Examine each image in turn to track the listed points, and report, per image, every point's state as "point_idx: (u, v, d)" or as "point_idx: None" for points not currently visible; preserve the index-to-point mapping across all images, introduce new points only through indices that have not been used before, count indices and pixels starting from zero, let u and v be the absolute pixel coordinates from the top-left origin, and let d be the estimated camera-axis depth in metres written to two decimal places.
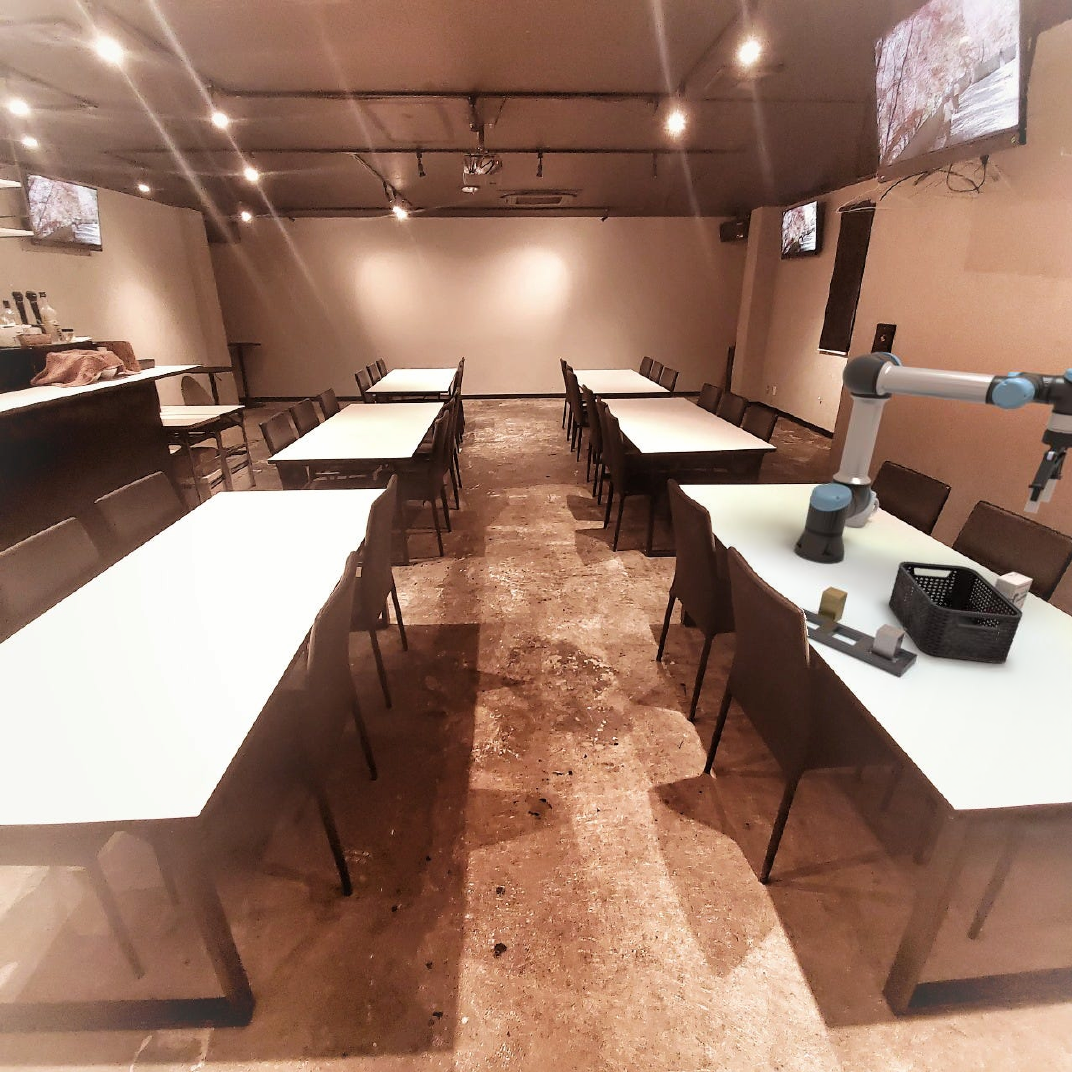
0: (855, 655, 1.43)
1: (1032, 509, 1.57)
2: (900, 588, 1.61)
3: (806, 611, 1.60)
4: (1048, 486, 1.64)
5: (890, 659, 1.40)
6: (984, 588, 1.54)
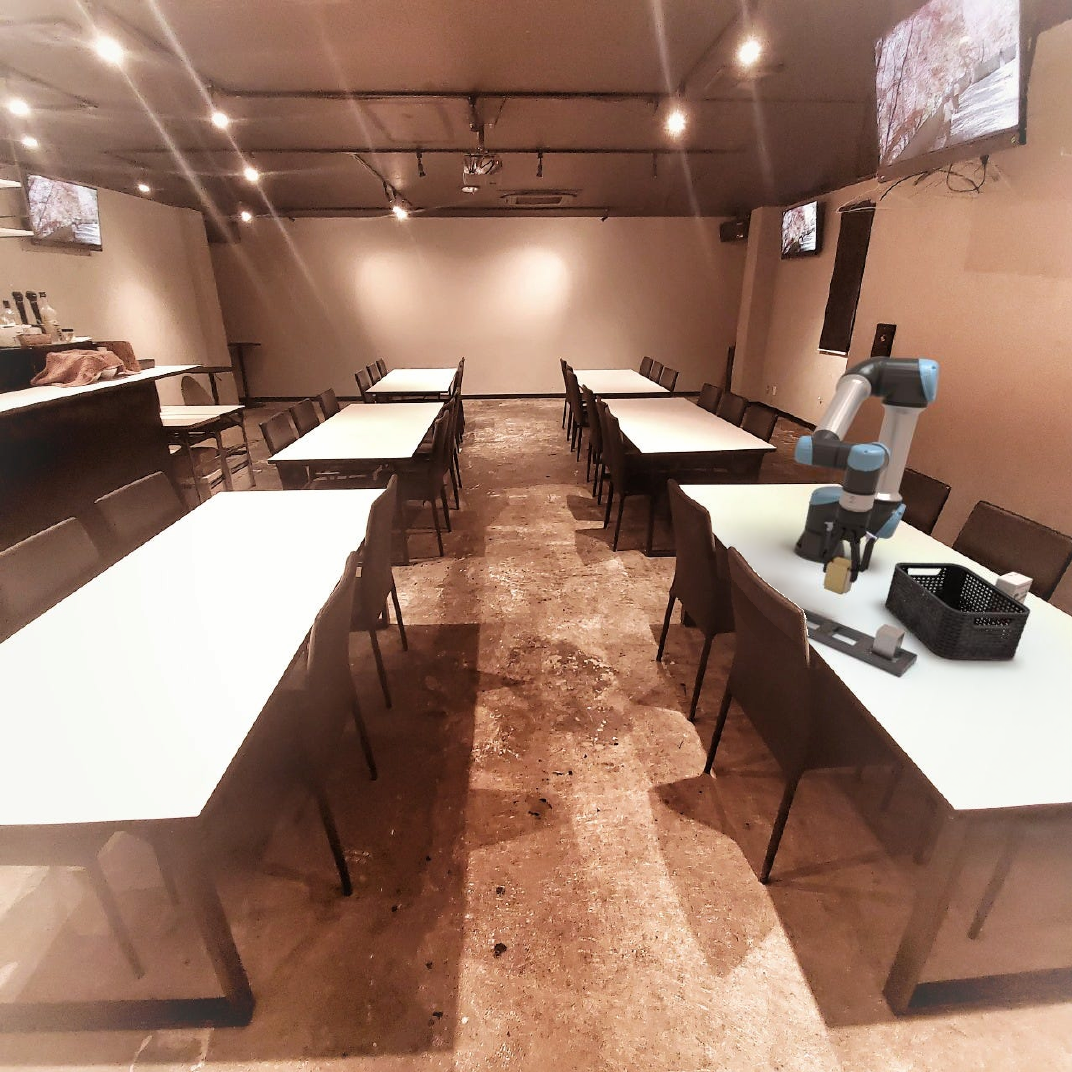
0: (855, 655, 1.43)
1: None
2: (900, 590, 1.60)
3: (806, 611, 1.60)
4: None
5: (890, 659, 1.40)
6: (978, 584, 1.56)
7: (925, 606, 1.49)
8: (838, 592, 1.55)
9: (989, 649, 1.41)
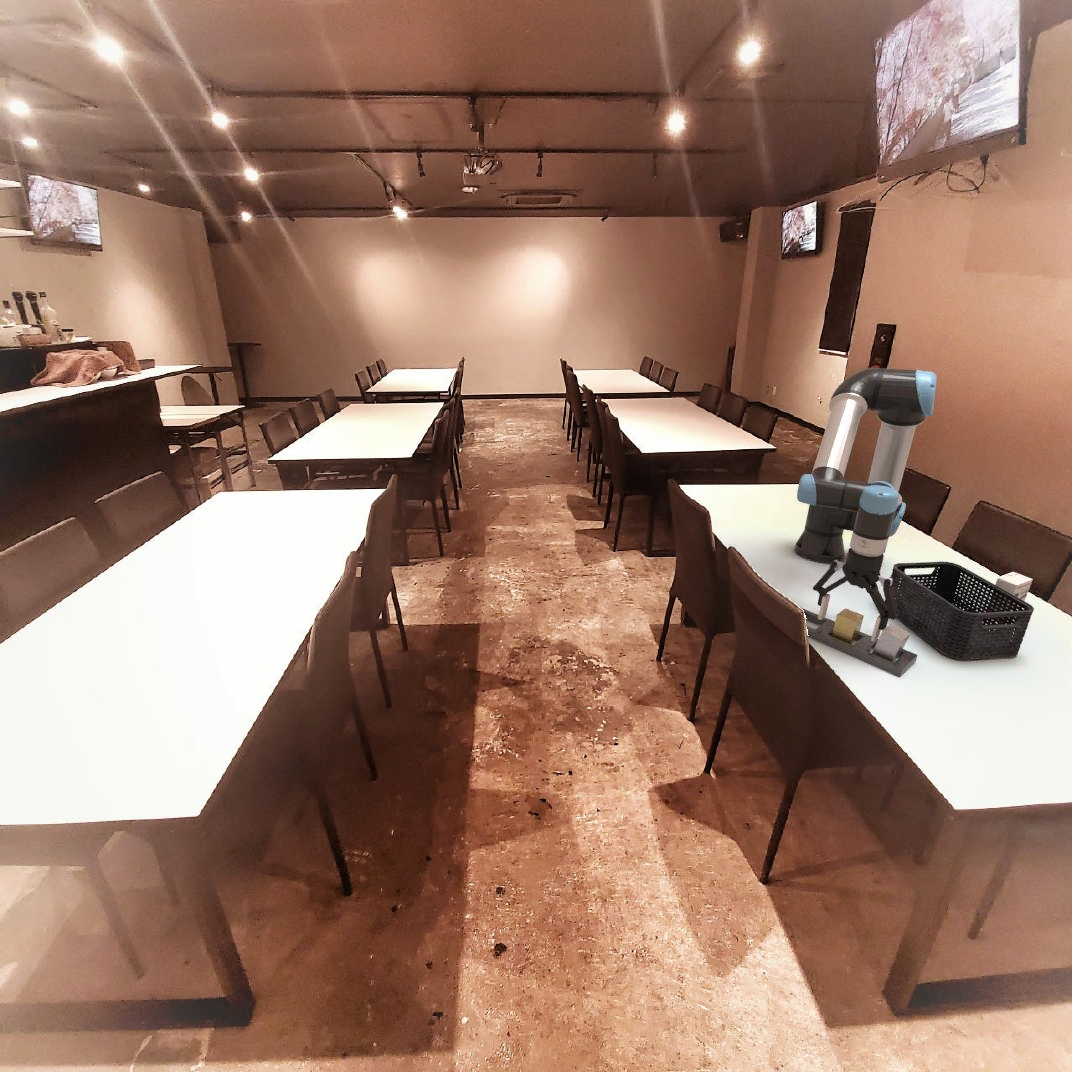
0: (855, 655, 1.43)
1: None
2: (900, 592, 1.59)
3: (806, 611, 1.60)
4: None
5: (891, 659, 1.39)
6: (974, 582, 1.57)
7: (931, 608, 1.48)
8: None
9: (996, 648, 1.42)
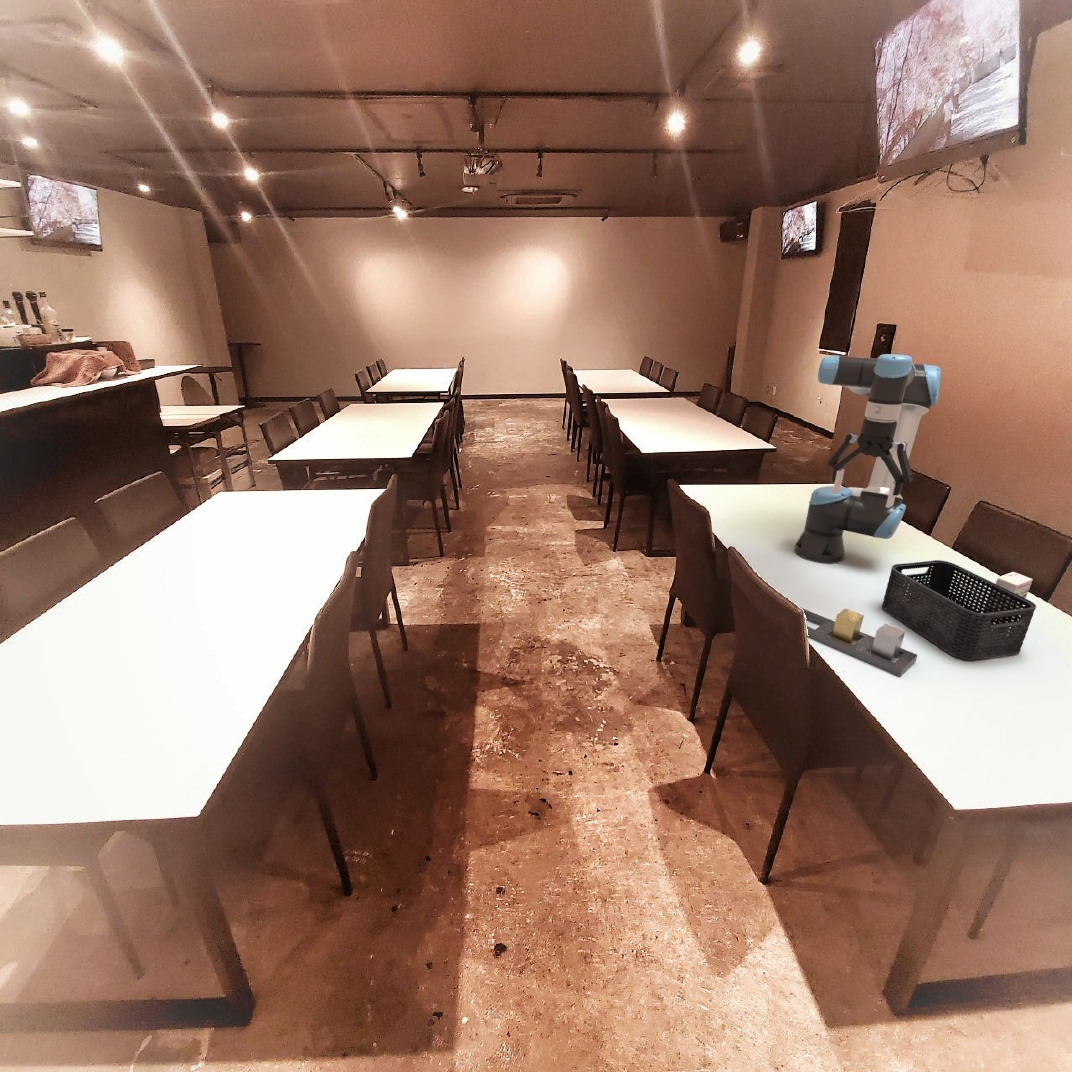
0: (855, 655, 1.43)
1: None
2: (901, 593, 1.58)
3: (806, 611, 1.60)
4: None
5: (890, 659, 1.40)
6: (970, 580, 1.58)
7: (936, 609, 1.47)
8: None
9: (1002, 646, 1.43)
